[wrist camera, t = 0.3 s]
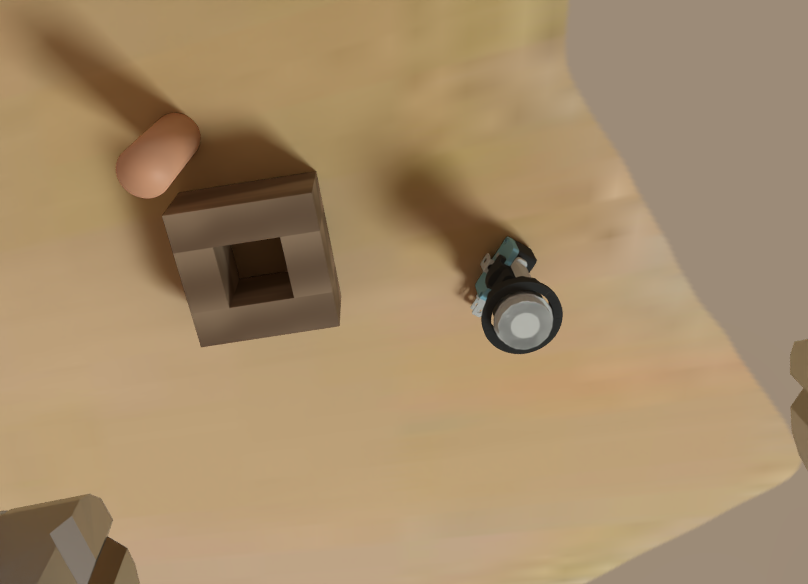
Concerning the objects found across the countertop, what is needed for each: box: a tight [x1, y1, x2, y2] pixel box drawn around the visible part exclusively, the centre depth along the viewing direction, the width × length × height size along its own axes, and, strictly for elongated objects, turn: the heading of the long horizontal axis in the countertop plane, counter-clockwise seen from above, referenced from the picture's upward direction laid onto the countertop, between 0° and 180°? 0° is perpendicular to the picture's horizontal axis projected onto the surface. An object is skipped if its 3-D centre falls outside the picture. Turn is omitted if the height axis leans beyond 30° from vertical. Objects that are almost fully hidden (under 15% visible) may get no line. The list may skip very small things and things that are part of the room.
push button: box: [471, 236, 563, 354], centre depth 54 cm, size 7×5×10 cm
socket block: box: [162, 171, 341, 347], centre depth 55 cm, size 10×10×5 cm
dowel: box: [116, 113, 201, 198], centre depth 49 cm, size 3×3×9 cm
